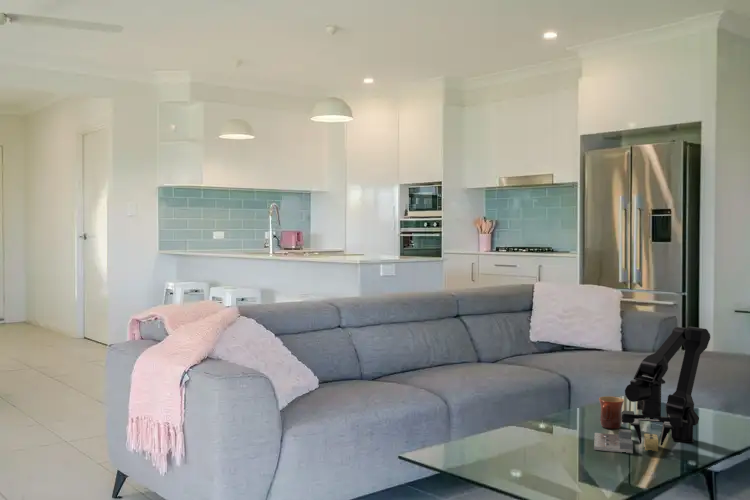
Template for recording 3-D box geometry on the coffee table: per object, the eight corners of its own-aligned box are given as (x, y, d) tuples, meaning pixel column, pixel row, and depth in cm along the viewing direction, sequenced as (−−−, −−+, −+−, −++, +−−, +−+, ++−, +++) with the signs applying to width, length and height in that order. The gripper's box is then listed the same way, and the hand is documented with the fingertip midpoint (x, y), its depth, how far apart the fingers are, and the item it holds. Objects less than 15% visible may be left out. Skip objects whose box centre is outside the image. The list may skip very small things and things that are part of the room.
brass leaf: (656, 446, 247) (656, 433, 247) (658, 451, 241) (658, 439, 241) (643, 445, 248) (644, 432, 248) (645, 450, 242) (645, 438, 242)
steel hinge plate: (630, 439, 254) (631, 430, 254) (632, 453, 239) (632, 443, 238) (594, 436, 257) (594, 427, 257) (594, 449, 242) (594, 440, 242)
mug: (603, 422, 275) (603, 395, 274) (626, 426, 269) (627, 398, 269) (591, 429, 265) (592, 401, 265) (615, 434, 260) (616, 405, 259)
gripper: (679, 394, 249) (678, 439, 249) (621, 390, 254) (620, 434, 255) (683, 402, 238) (682, 449, 239) (622, 397, 243) (621, 444, 244)
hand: (650, 444), depth 244 cm, fingers open, 6 cm apart
